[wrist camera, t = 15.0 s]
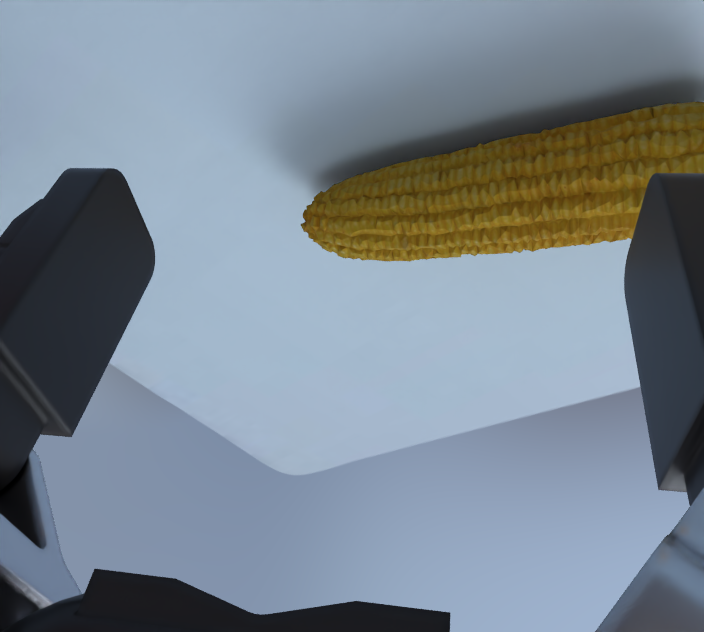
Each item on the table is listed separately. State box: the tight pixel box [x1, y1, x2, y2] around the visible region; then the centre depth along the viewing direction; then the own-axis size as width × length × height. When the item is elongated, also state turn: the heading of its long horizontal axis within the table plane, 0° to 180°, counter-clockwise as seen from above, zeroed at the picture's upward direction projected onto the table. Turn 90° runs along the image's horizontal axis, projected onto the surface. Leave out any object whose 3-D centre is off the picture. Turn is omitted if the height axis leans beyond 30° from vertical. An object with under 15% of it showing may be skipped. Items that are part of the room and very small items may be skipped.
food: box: [301, 102, 704, 261], centre depth 32 cm, size 21×6×6 cm, turn 112°
